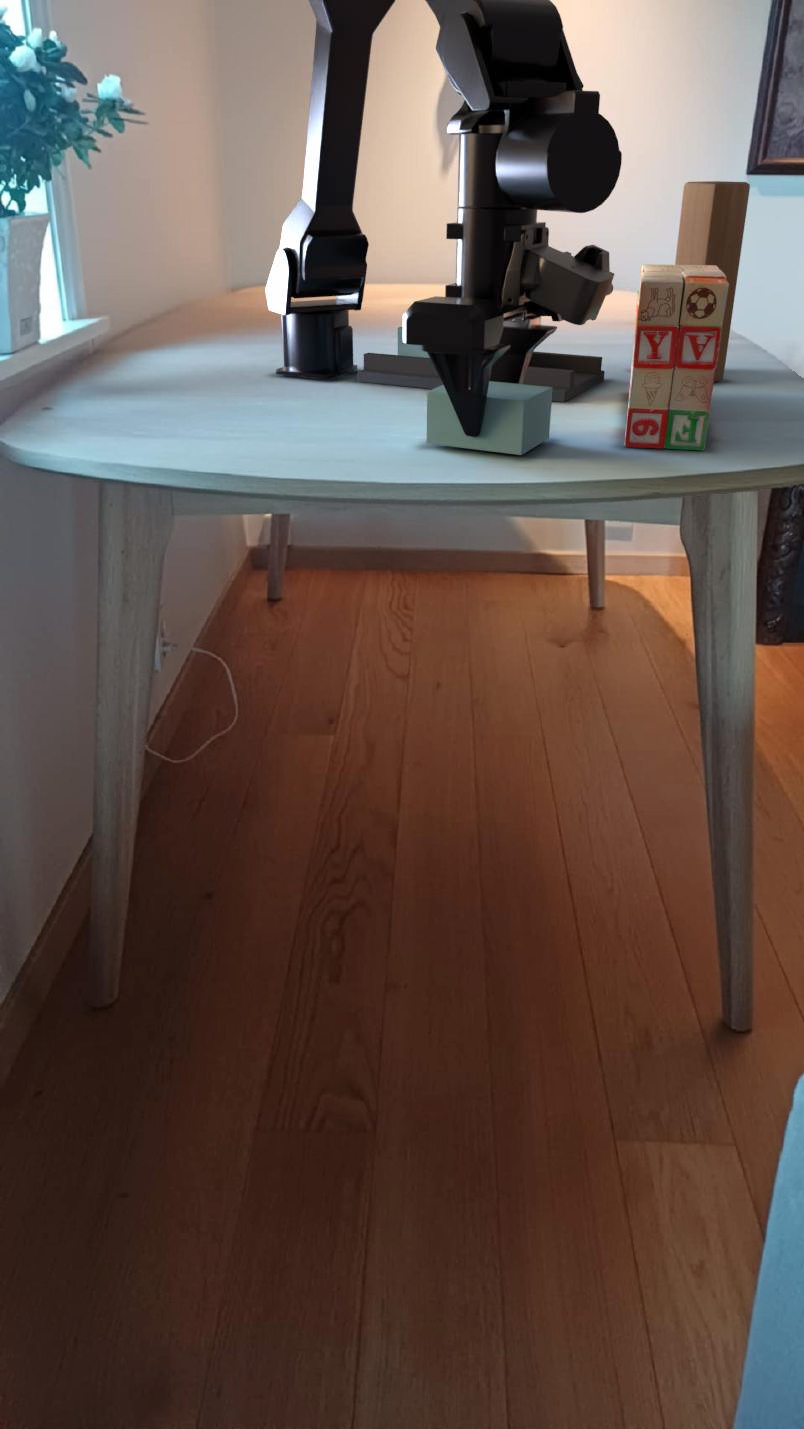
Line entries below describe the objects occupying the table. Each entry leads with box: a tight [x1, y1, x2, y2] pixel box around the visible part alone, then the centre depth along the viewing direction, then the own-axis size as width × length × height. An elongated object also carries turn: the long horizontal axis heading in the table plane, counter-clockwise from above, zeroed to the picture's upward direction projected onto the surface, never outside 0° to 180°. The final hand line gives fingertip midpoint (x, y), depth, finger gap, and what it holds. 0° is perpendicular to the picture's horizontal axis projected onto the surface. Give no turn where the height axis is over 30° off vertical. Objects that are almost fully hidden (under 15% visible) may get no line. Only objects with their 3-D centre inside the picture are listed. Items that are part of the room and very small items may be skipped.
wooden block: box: [674, 180, 751, 382], centre depth 104 cm, size 9×4×18 cm, turn 27°
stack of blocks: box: [623, 263, 729, 451], centre depth 88 cm, size 21×6×12 cm, turn 168°
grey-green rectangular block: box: [426, 381, 553, 456], centre depth 82 cm, size 8×6×4 cm
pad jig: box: [357, 325, 606, 403], centre depth 105 cm, size 22×12×5 cm, turn 63°
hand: (488, 427), depth 82 cm, fingers closed on grey-green rectangular block, 6 cm apart
